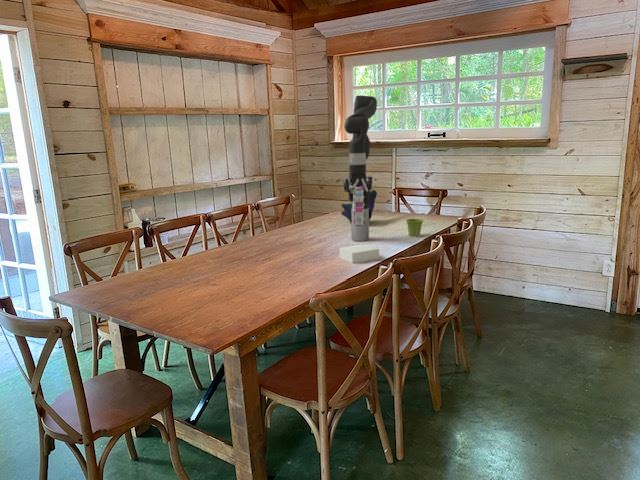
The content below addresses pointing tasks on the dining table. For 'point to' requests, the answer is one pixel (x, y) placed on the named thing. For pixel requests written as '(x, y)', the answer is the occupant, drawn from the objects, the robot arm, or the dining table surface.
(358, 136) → the robot arm
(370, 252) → the grey block
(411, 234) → the plant pot
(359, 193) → the candy bar box
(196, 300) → the dining table surface
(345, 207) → the decorative plant
